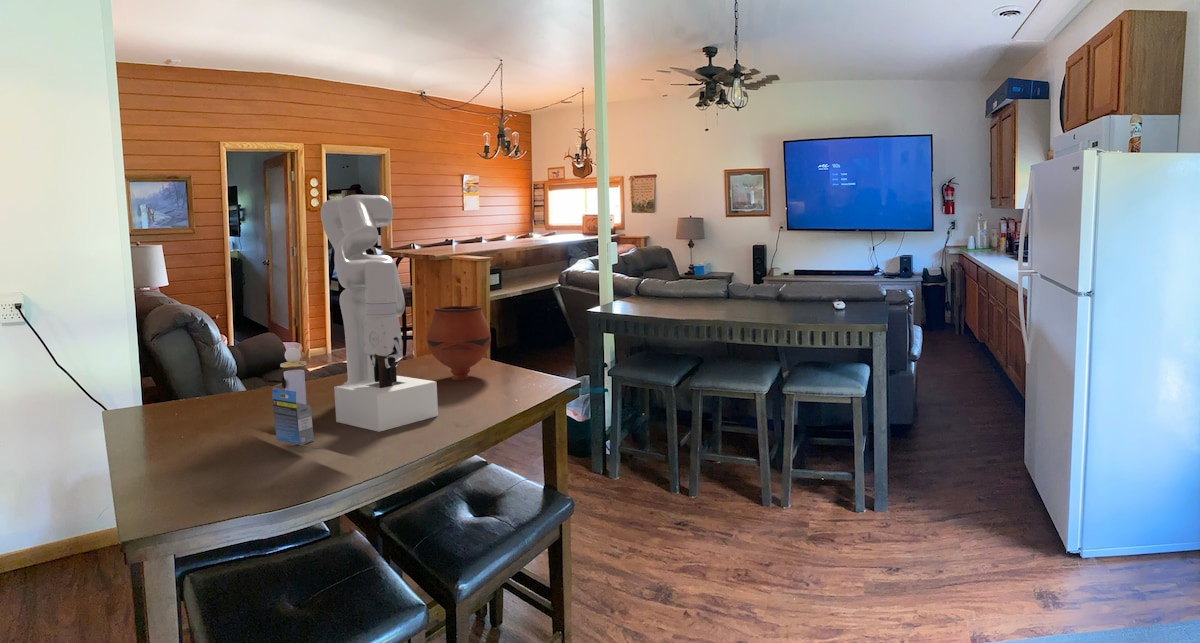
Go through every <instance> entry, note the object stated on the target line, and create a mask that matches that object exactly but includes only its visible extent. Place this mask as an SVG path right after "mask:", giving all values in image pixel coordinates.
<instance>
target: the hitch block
mask: <svg viewBox="0 0 1200 643" xmlns="http://www.w3.org/2000/svg"><path fill="white" fill-rule="evenodd" d="M396 376H397V381H396V382H394V383H392V386H389V387H385V388H378V387H380V386H379V382H375V379H371V380H366V381H361V382H356V383H351V384H346V385H343V384H341V385H337V386H334V387H333V388H334V405H335V406H334V407H335V421H336V423H339V424H344V425H349V426H353V427H357V428H361V429H365V430H370V431H375V432H377V433H378V432H383V431H386V430H388V431H389V430H391V429H394V428H398V427H402V426H405V425H409V424H413V423H417V422H421V421H424V420H428V419H432V418H434V417H435V418H436V417H438V416H439V410H438V409H439V404H438V402H439V401H438V387H437V386H438V385H437V381H434V380H429V379H428V380H427V379H421V378H414V377H409V376H402V375H397V374H396Z"/></svg>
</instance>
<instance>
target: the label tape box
mask: <svg viewBox="0 0 1200 643" xmlns="http://www.w3.org/2000/svg"><path fill="white" fill-rule="evenodd" d="M281 395H287V396H288V398H285V397H284V396H281ZM306 404H307V403H306ZM306 404H302V403H297V402H296V391H289V390H284V388H282V389H281V388H277V387H272V406H273V417H274V426H275V427H274V430H275V437H276V440H277V441H280V442H285V443H291V444H296V445H304V444H305V445H306V444H308V443H311V442H314V441H315V437H314V427H313V418H312V417H313V416H312V408H311V405H310V404H307V405H306Z"/></svg>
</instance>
